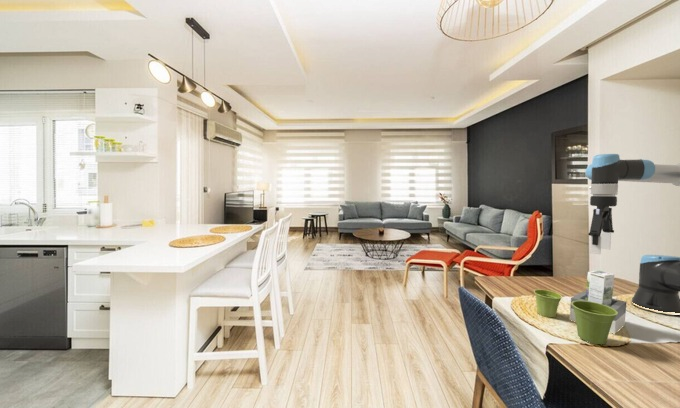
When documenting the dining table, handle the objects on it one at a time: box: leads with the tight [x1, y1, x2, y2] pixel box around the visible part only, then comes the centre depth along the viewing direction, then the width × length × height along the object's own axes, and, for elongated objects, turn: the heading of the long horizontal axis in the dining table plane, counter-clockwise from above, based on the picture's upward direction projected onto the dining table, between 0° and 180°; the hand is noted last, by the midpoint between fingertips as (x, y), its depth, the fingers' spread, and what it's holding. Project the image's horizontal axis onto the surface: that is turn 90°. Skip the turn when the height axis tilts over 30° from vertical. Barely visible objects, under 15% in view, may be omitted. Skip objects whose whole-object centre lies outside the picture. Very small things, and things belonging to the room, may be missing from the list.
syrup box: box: [585, 270, 615, 307], centre depth 111 cm, size 6×6×14 cm
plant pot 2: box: [570, 301, 618, 346], centre depth 99 cm, size 12×12×11 cm
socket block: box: [569, 291, 627, 335], centre depth 111 cm, size 13×13×9 cm
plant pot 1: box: [533, 289, 563, 318], centre depth 118 cm, size 9×9×9 cm
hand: (600, 251), depth 112 cm, fingers open, 13 cm apart
